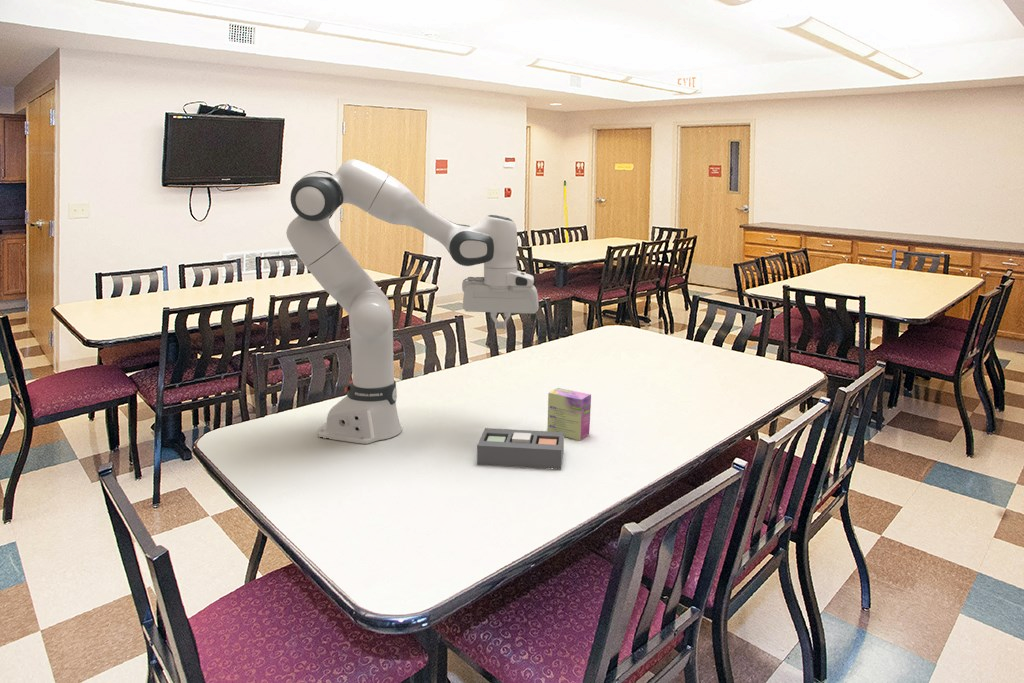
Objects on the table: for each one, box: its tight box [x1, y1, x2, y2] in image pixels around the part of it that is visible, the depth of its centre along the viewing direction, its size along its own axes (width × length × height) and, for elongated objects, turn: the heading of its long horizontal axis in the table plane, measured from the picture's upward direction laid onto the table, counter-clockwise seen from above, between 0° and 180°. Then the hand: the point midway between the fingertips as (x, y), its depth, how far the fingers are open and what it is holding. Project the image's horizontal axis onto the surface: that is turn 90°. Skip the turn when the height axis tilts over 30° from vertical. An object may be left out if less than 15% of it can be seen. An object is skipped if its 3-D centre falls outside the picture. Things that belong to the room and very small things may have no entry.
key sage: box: [487, 436, 506, 442], centre depth 174 cm, size 4×4×2 cm
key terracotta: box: [538, 438, 557, 445], centre depth 173 cm, size 4×4×2 cm
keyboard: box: [476, 427, 565, 470], centre depth 174 cm, size 21×12×5 cm, turn 83°
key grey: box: [512, 432, 531, 443], centre depth 173 cm, size 4×4×2 cm
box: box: [546, 387, 592, 441], centre depth 189 cm, size 10×6×12 cm, turn 58°
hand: (500, 328), depth 186 cm, fingers closed
